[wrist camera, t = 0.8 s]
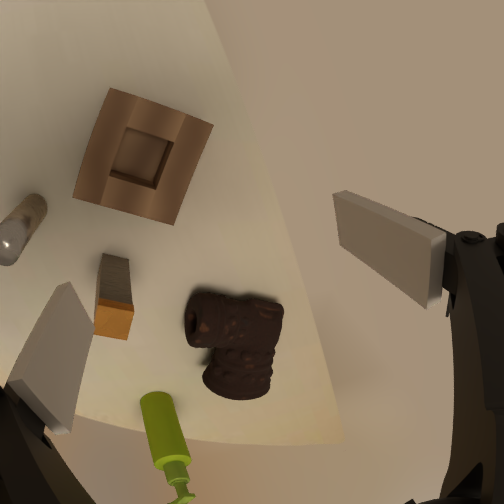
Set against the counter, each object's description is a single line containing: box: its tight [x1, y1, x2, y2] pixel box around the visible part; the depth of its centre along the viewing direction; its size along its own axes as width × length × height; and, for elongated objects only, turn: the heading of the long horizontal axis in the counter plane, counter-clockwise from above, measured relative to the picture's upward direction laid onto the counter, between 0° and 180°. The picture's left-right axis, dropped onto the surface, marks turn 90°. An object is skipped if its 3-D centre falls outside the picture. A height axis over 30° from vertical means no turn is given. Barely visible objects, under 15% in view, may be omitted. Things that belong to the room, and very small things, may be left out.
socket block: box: [72, 88, 214, 226], centre depth 29 cm, size 11×11×5 cm
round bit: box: [0, 194, 47, 266], centre depth 24 cm, size 3×3×11 cm
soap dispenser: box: [140, 392, 195, 504], centre depth 39 cm, size 6×7×20 cm
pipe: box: [185, 292, 284, 400], centre depth 44 cm, size 10×15×15 cm
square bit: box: [93, 253, 134, 340], centre depth 31 cm, size 4×4×11 cm
